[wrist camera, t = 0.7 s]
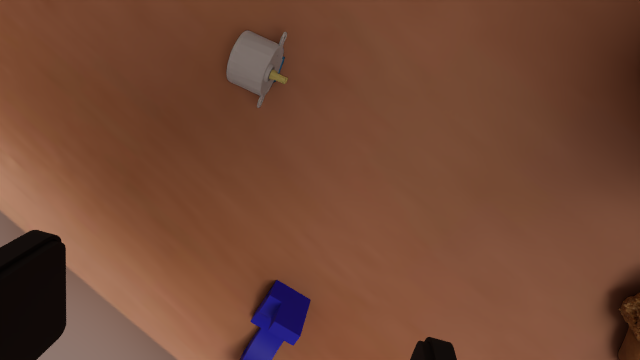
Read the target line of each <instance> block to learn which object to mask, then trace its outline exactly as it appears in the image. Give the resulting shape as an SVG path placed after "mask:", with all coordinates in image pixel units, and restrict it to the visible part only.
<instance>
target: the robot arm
mask: <svg viewBox="0 0 640 360" xmlns="http://www.w3.org/2000/svg"><path fill="white" fill-rule="evenodd" d="M65 326H66V249H65V245H64V244H63V243H62V242H61V239H60V237H59V236H57V235H54V234H50V233H46V232H43V231H39V230H32V231H29V232H27V233H26V234H24V235H22V236H20V237H19V238H17V239H15V240H13V241H11V242H10V243H8V244H6V245H4V246H2V247H0V360H37V359H38V357H40V356H41V355H42V354H43V353H44V352H45V351H46V350H47V349H48V348H49V347H50V346H51V345H52V344H53V343H54V342H55V341H56V340H57V339H58V338H59V337H60V336H61V335H62V333H63V331H64V329H65ZM410 360H457V358H456V355H455V351H454V348H453V345H452V344H451V343H450V342H446V341H443V340H439V339H435V338H432V337H427V338H426V340H425V342H423V341H418V343H417V344H416V347H415V349H414V352H413V354H412V356H411V359H410Z"/></svg>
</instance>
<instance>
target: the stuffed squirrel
mask: <svg viewBox="0 0 640 360" xmlns="http://www.w3.org/2000/svg"><path fill="white" fill-rule="evenodd" d="M622 303H623V304H622V306H621V308H620V309H619V310H620V311H621V314H622V315H623V317H624V320H625V321H626V322H627V323H628V324H629V328H628V332H627V334H626V336H625V339H624V341H623V343H622V345H621V348H620V350H619V352H618V356H619V360H640V293H637V294H636V295H635V296H630V297H627V298H626V300H625V301H623V302H622Z"/></svg>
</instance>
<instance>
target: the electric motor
mask: <svg viewBox="0 0 640 360" xmlns="http://www.w3.org/2000/svg"><path fill="white" fill-rule="evenodd" d="M286 37H287V32H284V33H283V35H282V37H281V40H280V43H279V44H277V43H275V42H273V41H271V40H268V39H266V38H264V37H262V36H260V35H258V34H255V33H253V32H251V31H249V30H247V31H245V32H243V33H242V34H241V35H240V36H239V38H238V40H237V41H236V43H235V45H234V47H233V49H232V51H231V54H230V57H229V60H228V64H227V71H226V73H227V79H228V80H229V82H231V83H234V84H236V85H238V86H240V87H242V88H244V89H247V90H249V91H251V92H253V93H255V94H257V95H260V97H259V101H258V104H257V108H260V106H261V105H262V103H263V100H264V97H265V94H267V92H268V91H269V90H270V88H271V85H272V84H273V82H276V81H278V82H281V83H283V84H286V83H287V80H288V78H287V77H285V76H283V75H281V74H279V73H280V70H281V67H282V65H283V62H284V59H285V57H283V54H284V48H283V45H284V42H285V40H286ZM283 38H284V39H283Z"/></svg>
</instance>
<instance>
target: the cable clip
mask: <svg viewBox="0 0 640 360" xmlns="http://www.w3.org/2000/svg"><path fill="white" fill-rule="evenodd" d="M309 304H310V299H308V298H307V297H305V296H303V295H302V294H300V293H298V292H297V291H295V290H293V289H292V288H290V287H288V286H287V285H285V284H283V283H281V282H280V281H278V280H276V282H275V283H274V285H273V286H272V288H271V289H270V291H269V292H268V294H267V295H266V297H265V298H264V300H263V301H262V303H261V304H260V306H259V307H258V309H257V310H256V312H255V313H254V315H253V317H252V320H251V322H252V323H253V324H255V325H257V326H259V327H260V328H259V330H258V331H257V333H256V334H255V336H254V337H253V338H252V340H251V341H250V343H249V344H248V346H247V347H246V349H245V350H244V352H243V354H242V356H241V358H240V360H272V359H273V357H274V355H275V353H276V352H277V350H278V349H279V347H280V345H281V344H282V343H283V341H286V342H288V343H289V344H291V345H294V344H295V343H296V341H297V340H298V339H299V337H300V335H301V332H302V328H303V325H304V321H305V318H306V314H307V311H308V307H309Z"/></svg>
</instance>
